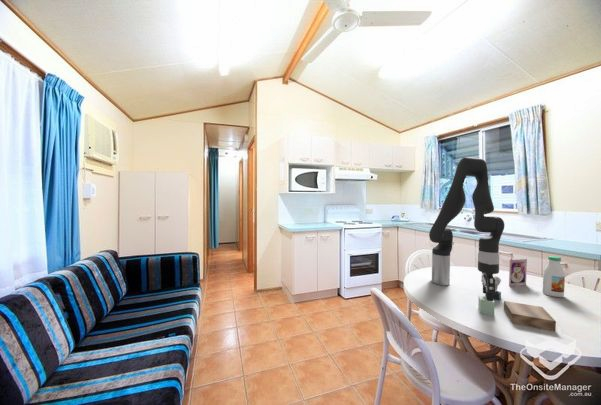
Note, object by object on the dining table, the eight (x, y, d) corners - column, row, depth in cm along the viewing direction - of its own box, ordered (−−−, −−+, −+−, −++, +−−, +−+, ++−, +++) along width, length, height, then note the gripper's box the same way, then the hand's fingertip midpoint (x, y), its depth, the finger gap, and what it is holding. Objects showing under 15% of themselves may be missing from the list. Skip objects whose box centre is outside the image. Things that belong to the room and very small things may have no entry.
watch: (501, 296, 124) (502, 275, 124) (498, 301, 119) (499, 279, 118) (488, 293, 128) (488, 272, 128) (484, 297, 123) (484, 276, 122)
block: (480, 313, 108) (480, 299, 108) (478, 308, 112) (478, 295, 112) (494, 315, 105) (494, 302, 105) (491, 310, 110) (492, 297, 110)
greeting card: (510, 286, 137) (511, 260, 136) (498, 281, 144) (498, 256, 143) (527, 285, 139) (528, 259, 138) (514, 280, 146) (515, 256, 145)
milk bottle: (542, 294, 126) (544, 257, 125) (542, 290, 131) (543, 254, 130) (564, 299, 120) (566, 259, 120) (563, 294, 126) (564, 256, 125)
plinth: (511, 322, 100) (512, 313, 99) (503, 309, 111) (503, 300, 111) (555, 331, 93) (555, 321, 93) (542, 316, 105) (542, 307, 105)
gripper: (475, 256, 116) (474, 289, 116) (480, 264, 103) (480, 301, 104) (495, 258, 112) (494, 292, 113) (503, 266, 100) (502, 305, 100)
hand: (487, 296), depth 108 cm, fingers open, 8 cm apart
